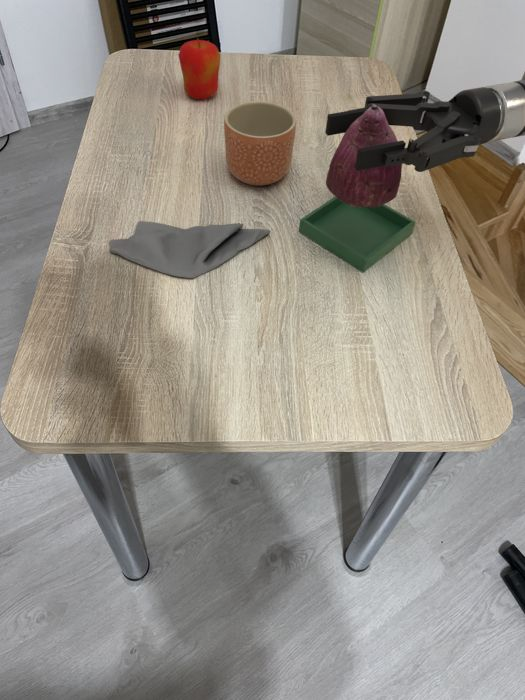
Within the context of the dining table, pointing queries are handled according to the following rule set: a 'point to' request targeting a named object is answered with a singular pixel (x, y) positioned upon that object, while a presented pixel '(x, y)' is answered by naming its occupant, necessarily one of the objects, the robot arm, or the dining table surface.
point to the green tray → (356, 231)
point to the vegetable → (369, 183)
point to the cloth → (184, 246)
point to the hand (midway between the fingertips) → (342, 142)
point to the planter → (259, 141)
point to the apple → (200, 68)
